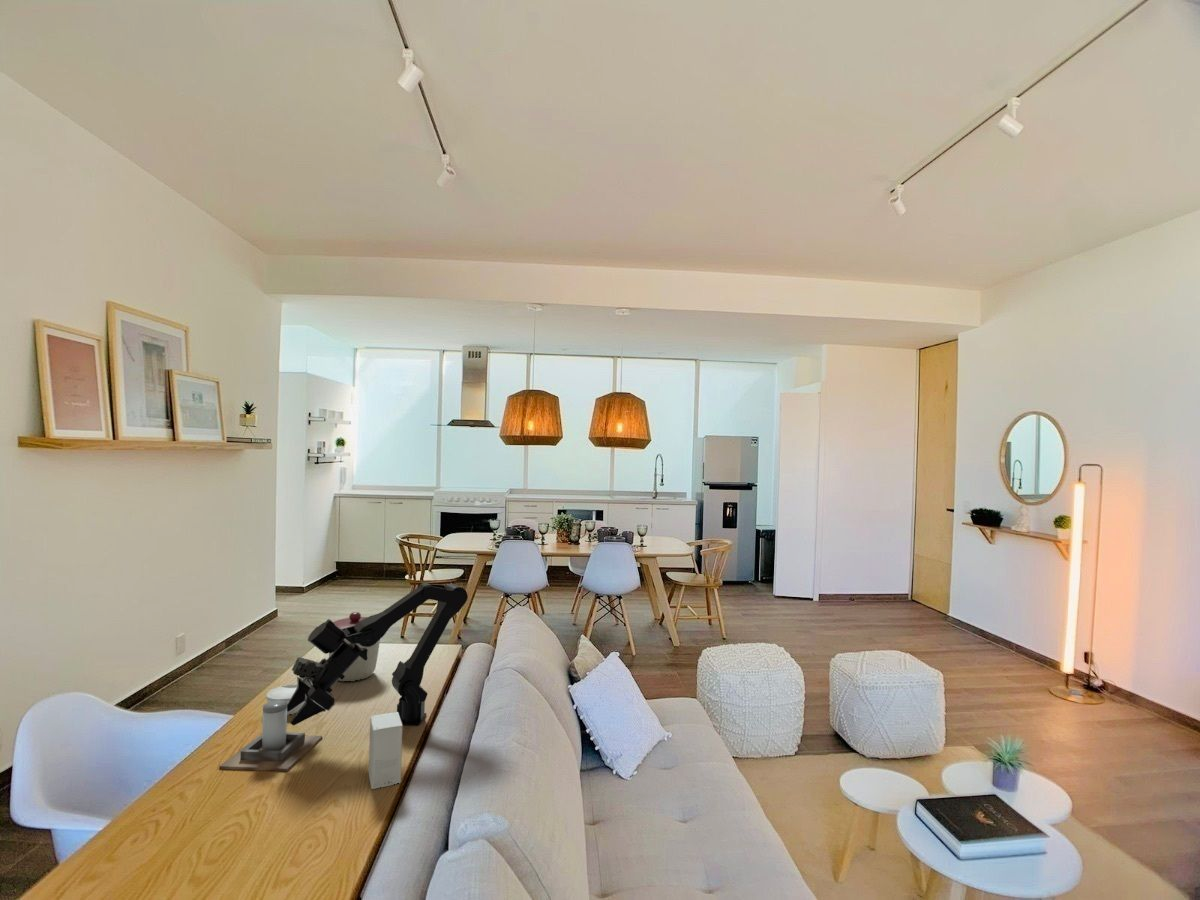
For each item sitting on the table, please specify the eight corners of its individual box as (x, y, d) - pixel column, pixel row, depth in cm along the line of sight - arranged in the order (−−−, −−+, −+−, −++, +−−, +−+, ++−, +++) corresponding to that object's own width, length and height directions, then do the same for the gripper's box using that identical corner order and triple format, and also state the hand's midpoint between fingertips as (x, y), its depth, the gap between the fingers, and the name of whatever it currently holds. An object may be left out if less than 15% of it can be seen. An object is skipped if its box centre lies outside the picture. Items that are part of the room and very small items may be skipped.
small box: (401, 783, 130) (403, 725, 130) (370, 790, 127) (372, 730, 128) (396, 766, 137) (398, 710, 138) (368, 772, 135) (369, 715, 135)
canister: (321, 690, 180) (324, 621, 181) (323, 670, 197) (325, 607, 197) (383, 682, 188) (386, 617, 188) (380, 663, 204) (382, 603, 204)
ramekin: (312, 699, 173) (313, 681, 174) (306, 715, 163) (307, 696, 163) (270, 703, 170) (271, 685, 170) (261, 720, 159) (262, 701, 159)
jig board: (322, 738, 150) (322, 728, 150) (287, 771, 134) (287, 760, 134) (261, 735, 150) (261, 725, 150) (219, 768, 134) (219, 757, 134)
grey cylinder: (290, 748, 143) (291, 703, 143) (269, 757, 139) (271, 711, 139) (278, 742, 146) (279, 698, 146) (257, 751, 141) (258, 706, 141)
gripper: (307, 636, 155) (259, 686, 148) (321, 656, 140) (267, 713, 133) (338, 660, 159) (292, 710, 153) (355, 682, 144) (304, 739, 138)
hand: (289, 717), depth 144 cm, fingers open, 9 cm apart
